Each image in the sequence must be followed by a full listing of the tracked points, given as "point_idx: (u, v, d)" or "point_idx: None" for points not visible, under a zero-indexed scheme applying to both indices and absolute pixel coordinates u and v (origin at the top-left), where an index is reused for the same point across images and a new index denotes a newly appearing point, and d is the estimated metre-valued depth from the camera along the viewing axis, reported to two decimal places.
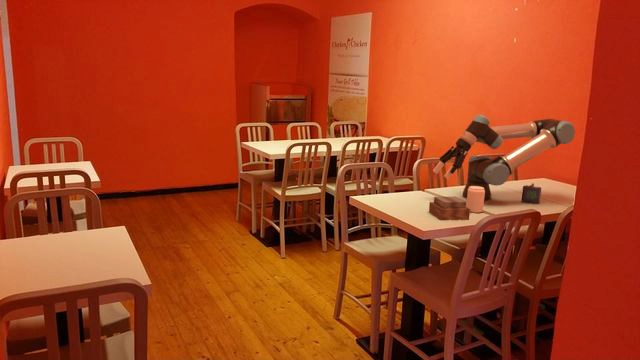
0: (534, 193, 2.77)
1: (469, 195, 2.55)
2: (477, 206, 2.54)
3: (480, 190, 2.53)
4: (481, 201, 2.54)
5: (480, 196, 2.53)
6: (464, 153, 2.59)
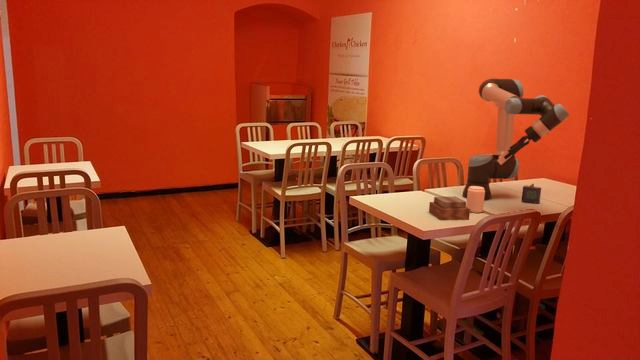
0: (534, 193, 2.77)
1: (469, 195, 2.55)
2: (477, 206, 2.54)
3: (480, 190, 2.53)
4: (481, 201, 2.54)
5: (480, 196, 2.53)
6: None
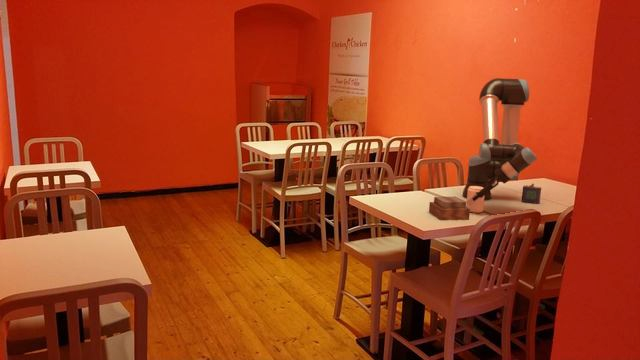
0: (534, 193, 2.77)
1: (469, 195, 2.55)
2: (477, 206, 2.54)
3: None
4: (481, 201, 2.54)
5: None
6: None
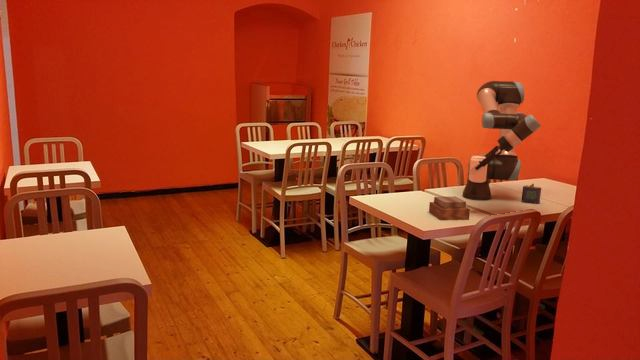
0: (534, 193, 2.77)
1: (472, 165, 2.51)
2: (479, 175, 2.50)
3: None
4: (484, 170, 2.50)
5: None
6: None
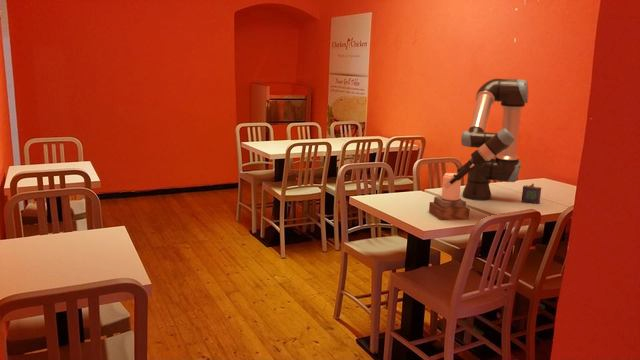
0: (534, 193, 2.77)
1: (444, 182, 2.43)
2: (452, 193, 2.42)
3: None
4: (457, 188, 2.42)
5: (456, 183, 2.41)
6: None
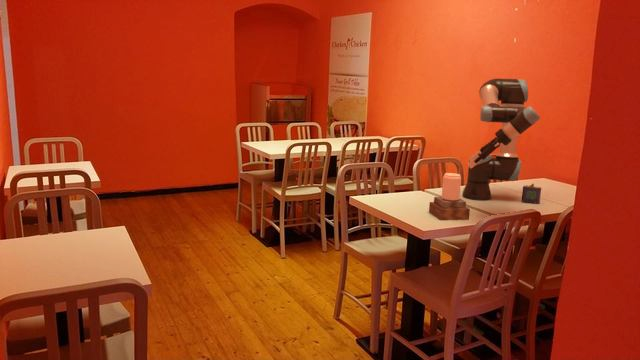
0: (534, 193, 2.77)
1: (444, 182, 2.43)
2: (452, 193, 2.42)
3: (456, 177, 2.41)
4: (457, 188, 2.42)
5: (456, 183, 2.41)
6: None
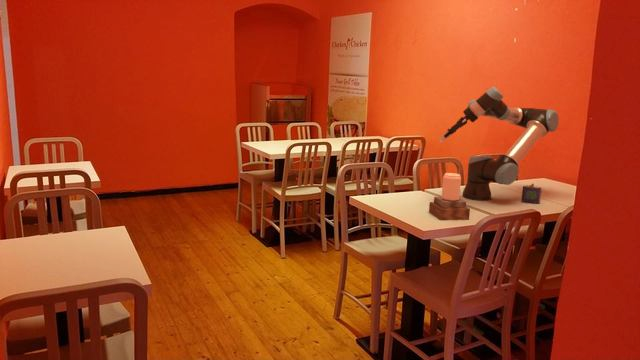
0: (534, 193, 2.77)
1: (444, 182, 2.43)
2: (452, 193, 2.42)
3: (456, 177, 2.41)
4: (457, 189, 2.42)
5: (456, 183, 2.41)
6: None
